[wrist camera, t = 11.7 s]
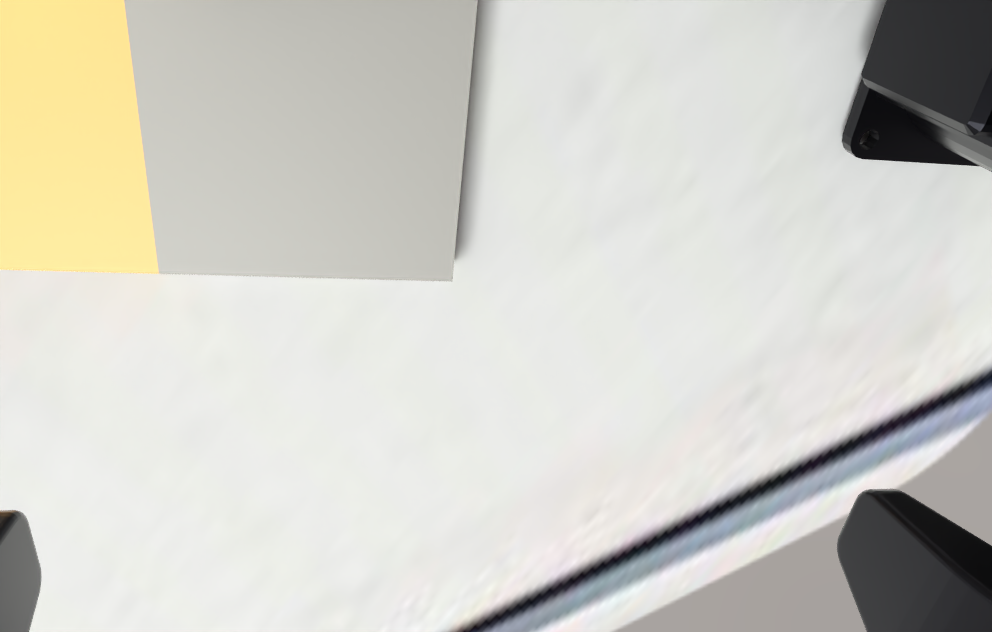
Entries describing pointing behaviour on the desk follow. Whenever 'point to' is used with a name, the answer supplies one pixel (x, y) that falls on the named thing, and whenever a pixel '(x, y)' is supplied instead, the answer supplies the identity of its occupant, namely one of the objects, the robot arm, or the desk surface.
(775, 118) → the desk surface
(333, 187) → the grey flat board
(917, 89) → the robot arm
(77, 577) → the desk surface
